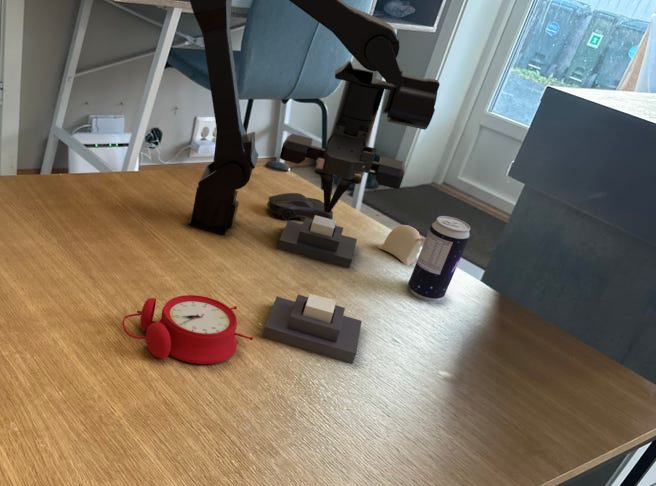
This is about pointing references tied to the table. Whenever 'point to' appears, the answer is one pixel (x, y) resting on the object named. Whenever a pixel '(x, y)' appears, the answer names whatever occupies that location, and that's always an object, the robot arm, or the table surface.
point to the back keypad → (318, 244)
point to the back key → (323, 226)
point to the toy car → (297, 206)
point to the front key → (319, 308)
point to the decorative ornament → (403, 243)
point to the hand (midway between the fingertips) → (326, 212)
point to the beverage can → (439, 258)
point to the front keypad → (313, 330)
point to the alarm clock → (190, 329)
